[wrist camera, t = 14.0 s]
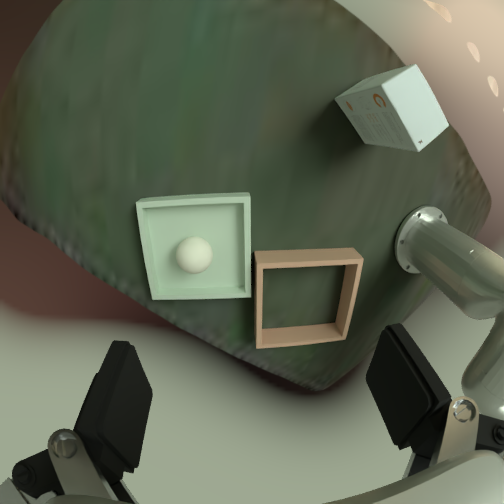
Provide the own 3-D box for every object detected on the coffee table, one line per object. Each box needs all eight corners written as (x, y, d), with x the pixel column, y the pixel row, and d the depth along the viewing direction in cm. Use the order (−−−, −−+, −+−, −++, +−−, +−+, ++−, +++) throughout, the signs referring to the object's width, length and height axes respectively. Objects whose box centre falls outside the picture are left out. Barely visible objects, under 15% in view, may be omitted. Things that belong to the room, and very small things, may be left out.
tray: (248, 192, 36) (250, 196, 34) (249, 288, 42) (251, 297, 40) (141, 198, 35) (135, 202, 33) (156, 290, 41) (152, 299, 39)
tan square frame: (353, 247, 41) (363, 258, 37) (338, 325, 47) (345, 339, 44) (254, 251, 40) (256, 263, 36) (254, 332, 46) (256, 348, 43)
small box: (392, 123, 33) (450, 126, 21) (364, 144, 34) (418, 154, 23) (363, 77, 30) (416, 62, 18) (332, 98, 31) (380, 85, 20)
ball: (213, 230, 37) (209, 244, 33) (215, 263, 39) (212, 280, 35) (178, 231, 37) (169, 245, 33) (182, 263, 39) (174, 280, 35)
